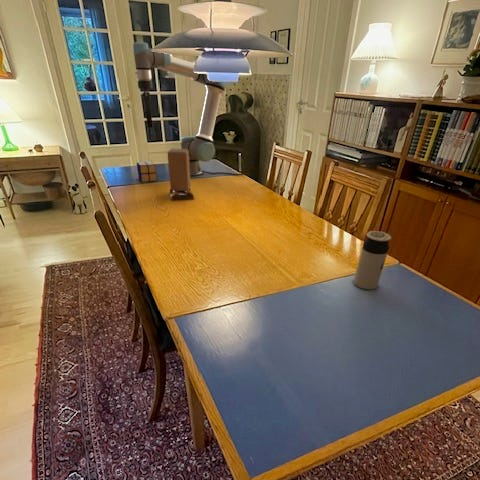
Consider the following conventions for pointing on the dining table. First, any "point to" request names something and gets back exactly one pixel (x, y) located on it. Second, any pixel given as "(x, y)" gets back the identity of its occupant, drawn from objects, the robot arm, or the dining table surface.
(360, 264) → the travel mug
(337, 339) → the dining table surface
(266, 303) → the dining table surface
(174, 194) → the brown tray
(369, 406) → the dining table surface
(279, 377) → the dining table surface
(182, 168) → the block
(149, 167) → the puzzle cube
